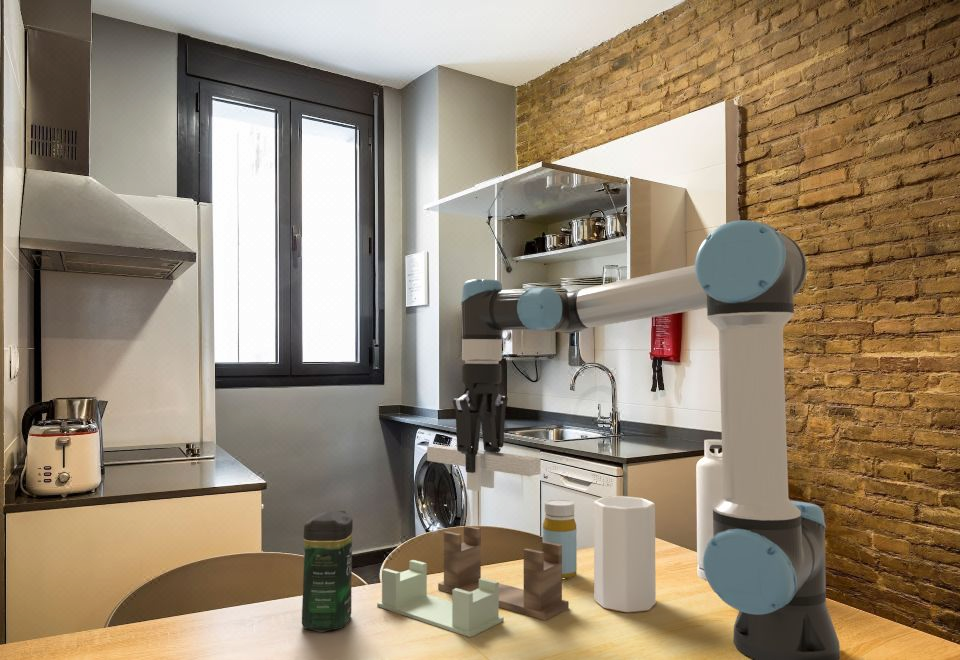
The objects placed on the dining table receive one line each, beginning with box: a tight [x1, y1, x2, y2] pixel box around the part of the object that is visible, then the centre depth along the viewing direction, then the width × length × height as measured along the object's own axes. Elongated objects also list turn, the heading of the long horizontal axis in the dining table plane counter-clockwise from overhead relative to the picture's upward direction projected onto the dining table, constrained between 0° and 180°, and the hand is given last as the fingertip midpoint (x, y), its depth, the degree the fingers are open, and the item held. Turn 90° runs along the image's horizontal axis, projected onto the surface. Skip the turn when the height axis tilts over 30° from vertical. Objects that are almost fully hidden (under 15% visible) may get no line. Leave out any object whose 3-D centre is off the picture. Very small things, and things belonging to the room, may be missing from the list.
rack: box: [437, 525, 570, 621], centre depth 130 cm, size 25×8×11 cm, turn 51°
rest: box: [376, 559, 504, 638], centre depth 122 cm, size 22×9×7 cm, turn 51°
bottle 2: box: [695, 439, 723, 581], centre depth 143 cm, size 8×8×28 cm
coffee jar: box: [301, 509, 354, 633], centre depth 118 cm, size 10×8×19 cm
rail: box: [426, 444, 542, 477], centre depth 128 cm, size 25×3×3 cm, turn 49°
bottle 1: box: [542, 498, 578, 579], centre depth 144 cm, size 7×7×15 cm
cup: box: [593, 495, 657, 614], centre depth 128 cm, size 11×11×18 cm
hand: (480, 488), depth 128 cm, fingers closed on rail, 3 cm apart
